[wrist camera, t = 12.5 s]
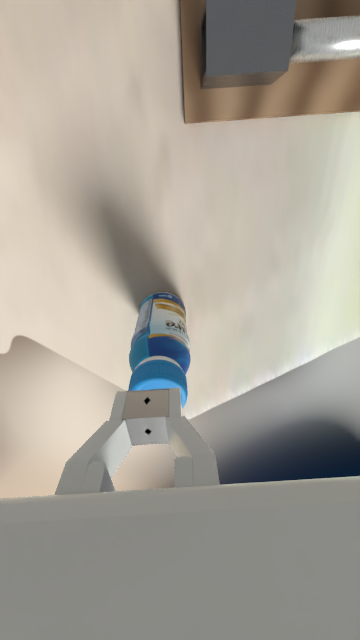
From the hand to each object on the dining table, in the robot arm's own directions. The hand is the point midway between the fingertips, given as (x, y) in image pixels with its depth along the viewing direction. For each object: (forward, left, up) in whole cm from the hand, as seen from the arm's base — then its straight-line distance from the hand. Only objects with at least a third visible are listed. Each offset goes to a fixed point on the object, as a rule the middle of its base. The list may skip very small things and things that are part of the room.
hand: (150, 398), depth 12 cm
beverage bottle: (+10, -8, -31) cm, 34 cm away
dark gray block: (-11, +18, -30) cm, 37 cm away
